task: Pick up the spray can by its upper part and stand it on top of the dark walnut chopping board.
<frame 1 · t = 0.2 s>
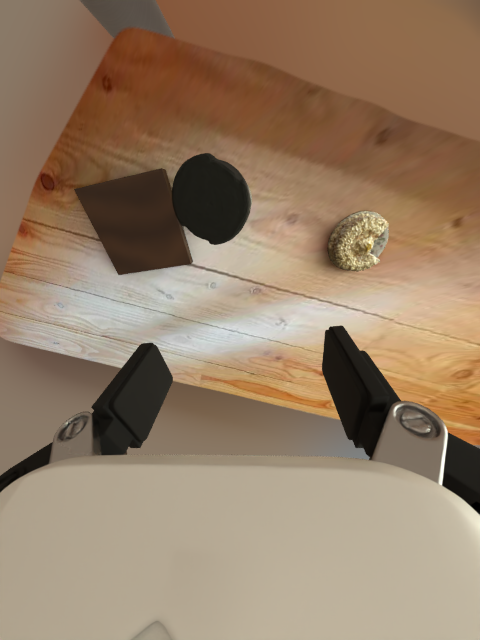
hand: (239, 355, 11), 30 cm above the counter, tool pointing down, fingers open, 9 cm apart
chopping board: (141, 228, 36), on the counter
spray can: (233, 200, 33), on the counter
cake: (355, 242, 35), on the counter
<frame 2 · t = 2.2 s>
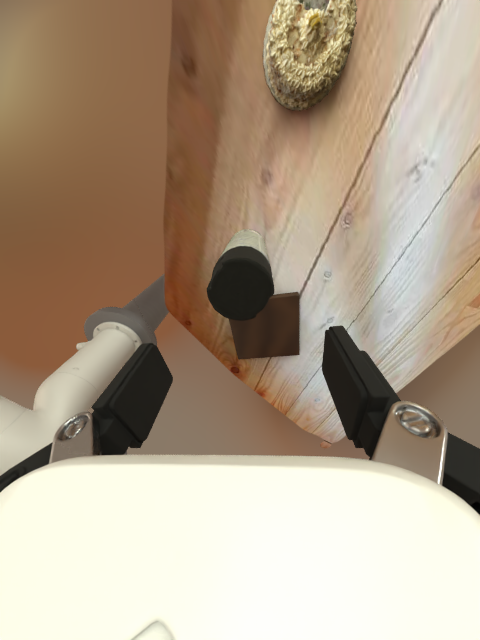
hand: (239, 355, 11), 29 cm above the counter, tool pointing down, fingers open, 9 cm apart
chopping board: (264, 327, 44), on the counter
spray can: (247, 247, 35), on the counter
cake: (305, 51, 23), on the counter
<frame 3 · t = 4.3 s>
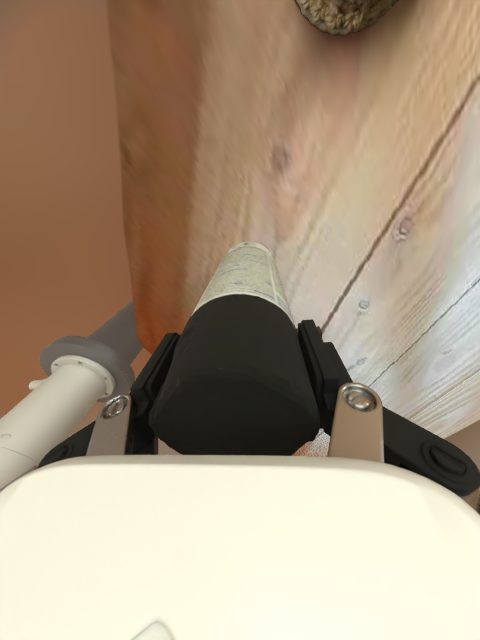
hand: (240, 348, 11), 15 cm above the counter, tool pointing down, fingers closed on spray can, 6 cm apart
spray can: (248, 267, 24), on the counter, touching gripper
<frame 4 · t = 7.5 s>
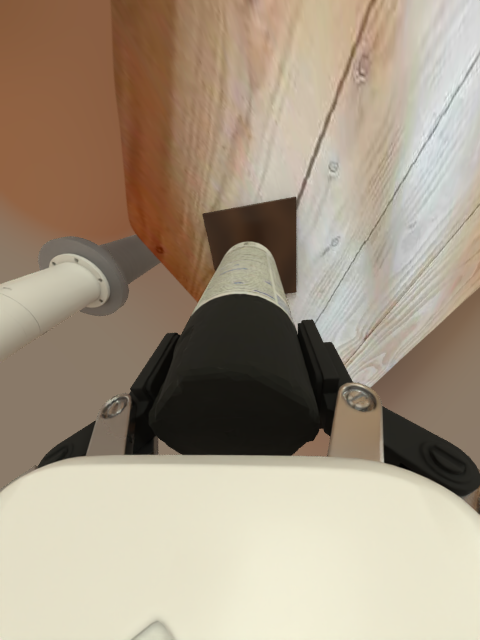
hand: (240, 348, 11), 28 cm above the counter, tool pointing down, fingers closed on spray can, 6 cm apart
chopping board: (253, 254, 36), on the counter
spray can: (248, 267, 24), point 13 cm above the counter, touching gripper
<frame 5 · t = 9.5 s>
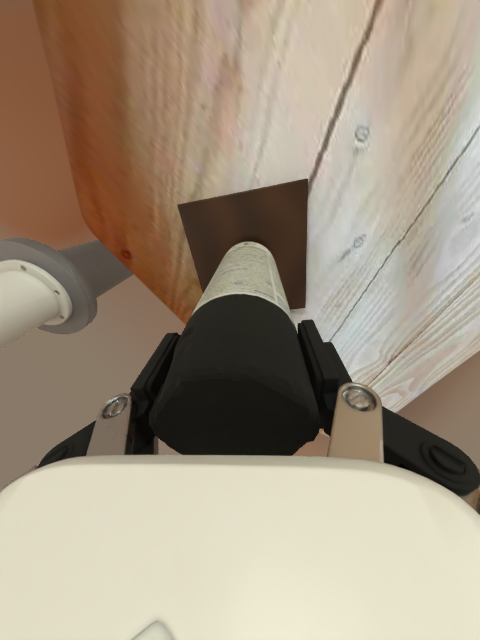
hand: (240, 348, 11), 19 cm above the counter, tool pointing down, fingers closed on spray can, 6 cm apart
chopping board: (249, 259, 27), on the counter
spray can: (248, 267, 24), point 4 cm above the counter, touching gripper
when the fingers open (17 cm above the counter, at t = 10.7 s): spray can stays where it is, resting on chopping board.
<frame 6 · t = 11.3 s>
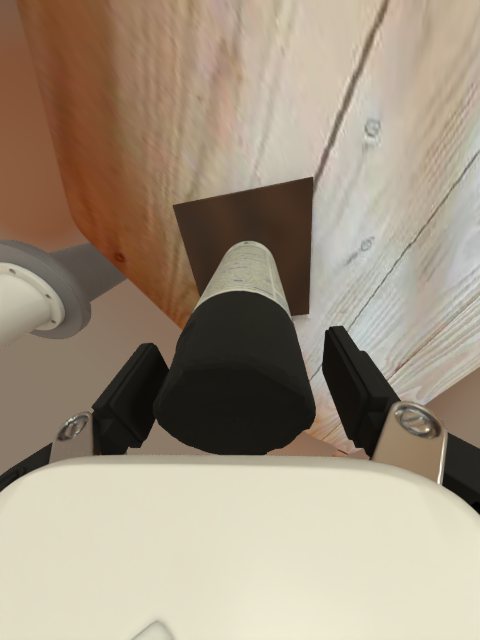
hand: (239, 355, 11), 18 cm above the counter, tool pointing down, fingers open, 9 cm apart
chopping board: (249, 263, 25), on the counter
spray can: (248, 266, 24), point 1 cm above the counter, touching chopping board
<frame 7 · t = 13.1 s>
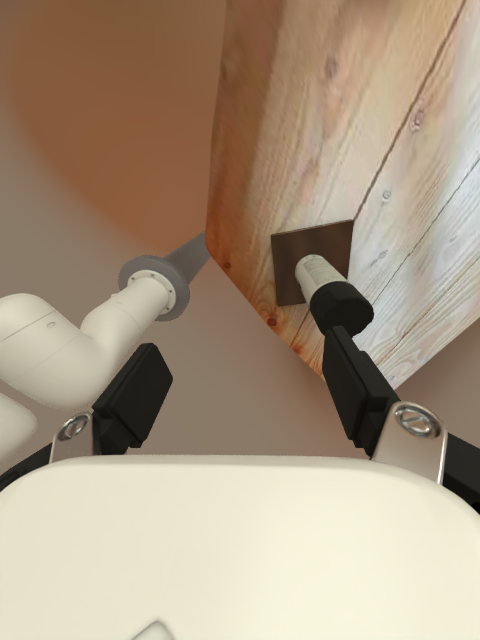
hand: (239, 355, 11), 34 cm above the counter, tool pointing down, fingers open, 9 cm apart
chopping board: (309, 267, 41), on the counter
spray can: (310, 269, 40), point 1 cm above the counter, touching chopping board
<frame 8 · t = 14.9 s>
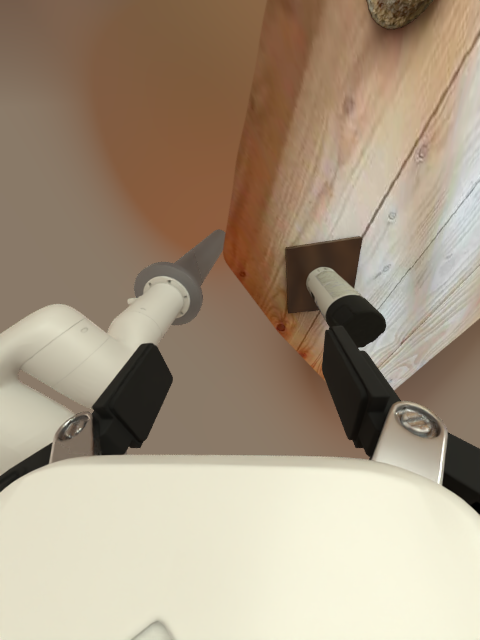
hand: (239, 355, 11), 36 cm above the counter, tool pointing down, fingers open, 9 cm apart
chopping board: (319, 277, 45), on the counter
spray can: (320, 279, 44), point 1 cm above the counter, touching chopping board
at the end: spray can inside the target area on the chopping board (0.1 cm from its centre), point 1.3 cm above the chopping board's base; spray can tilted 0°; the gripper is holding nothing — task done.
